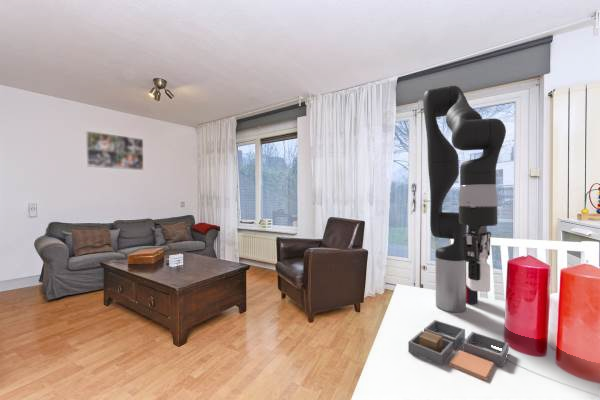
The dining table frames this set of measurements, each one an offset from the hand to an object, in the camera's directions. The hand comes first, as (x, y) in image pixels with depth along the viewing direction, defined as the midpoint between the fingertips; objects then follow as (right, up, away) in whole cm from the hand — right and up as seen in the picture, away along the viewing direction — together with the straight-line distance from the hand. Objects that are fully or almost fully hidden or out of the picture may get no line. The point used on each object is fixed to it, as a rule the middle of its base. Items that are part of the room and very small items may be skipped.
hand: (477, 276), depth 62 cm
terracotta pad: (-2, -20, -1) cm, 20 cm away
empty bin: (-2, -20, +11) cm, 23 cm away
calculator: (+21, -20, +38) cm, 48 cm away
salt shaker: (0, -3, 0) cm, 3 cm away
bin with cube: (-9, -20, +4) cm, 22 cm away
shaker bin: (+4, -20, +4) cm, 21 cm away
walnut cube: (-9, -20, +4) cm, 22 cm away
